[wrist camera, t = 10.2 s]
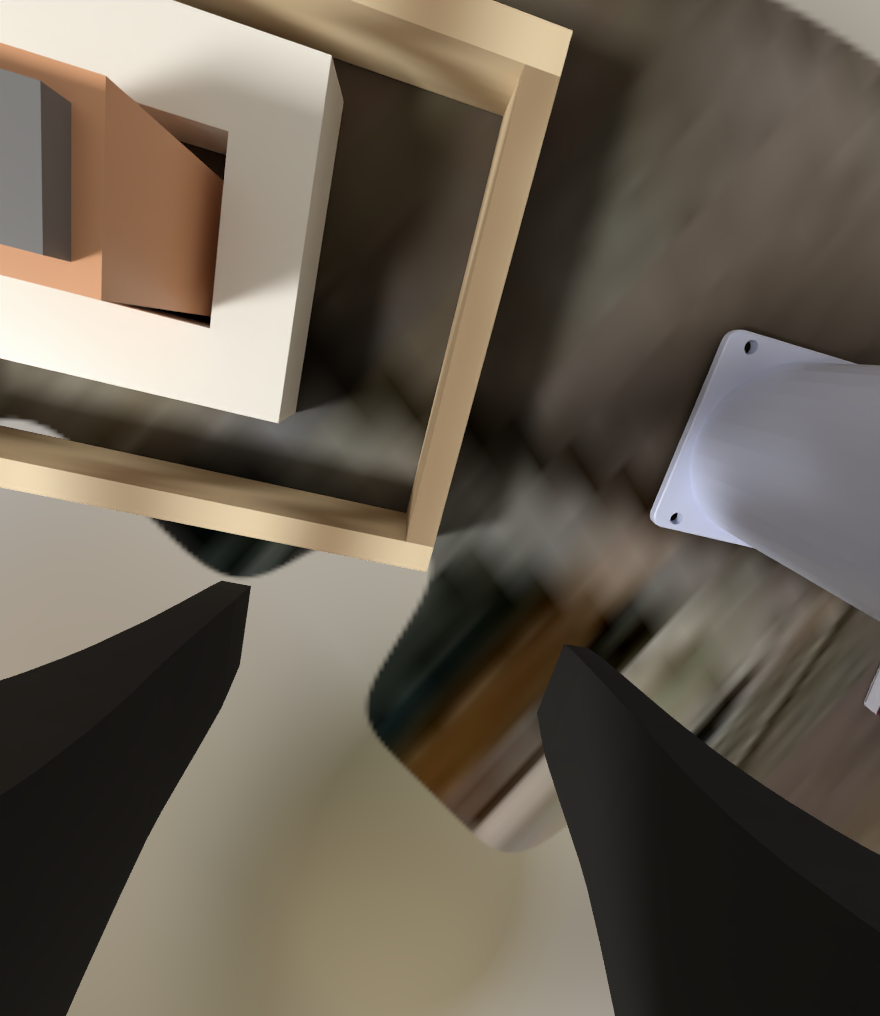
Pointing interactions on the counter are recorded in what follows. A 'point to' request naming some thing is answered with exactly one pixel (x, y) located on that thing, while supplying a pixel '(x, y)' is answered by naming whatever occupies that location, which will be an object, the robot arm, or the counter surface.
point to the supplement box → (874, 695)
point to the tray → (272, 239)
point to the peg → (100, 192)
